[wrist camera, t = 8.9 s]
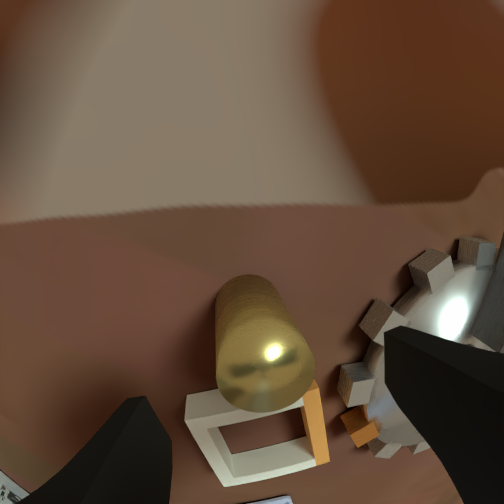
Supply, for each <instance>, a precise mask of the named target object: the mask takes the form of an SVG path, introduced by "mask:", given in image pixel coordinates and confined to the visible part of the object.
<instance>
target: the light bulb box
mask: <svg viewBox="0 0 504 504" xmlns="http://www.w3.org/2000/svg"><path fill="white" fill-rule="evenodd" d="M28 495H29V493H27V492H26V491H25V490H24V489H22V488H21V487H20V486H18V485H17V484H16V483H15V482H13V481H12V480H11V479H10V478H9V477H7V476H6V475H5V474H4V473H3V472H2V471H0V504H15V503H17V502H18V501H20V500H22V499H23V498H25V497H26V496H28Z"/></svg>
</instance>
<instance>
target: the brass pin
mask: <svg viewBox="0 0 504 504" xmlns="http://www.w3.org/2000/svg"><path fill="white" fill-rule="evenodd" d="M215 341H216V381H217V386H218V389H219V391H220V393H221V394H222V396H223V397H224V398H225V399H226V400H227V401H228V402H229V403H230V404H232V405H233V406H235V407H237V408H239V409H241V410H245V411H249V412H255V413H266V412H273V411H277V410H280V409H283V408H286V407H288V406H290V405H292V404H293V403H295V402H296V401H298V400H299V399H300V398H301V397H302V396H303V395H304V394H305V393H306V392H307V391H308V389H309V388H310V386H311V385H312V383H313V380H314V378H315V373H316V363H315V359H314V356H313V354H312V352H311V350H310V348H309V347H308V345H307V343H306V341H305V340H304V338H303V336H302V334H301V332H300V331H299V329H298V327H297V325H296V324H295V322H294V320H293V318H292V316H291V315H290V313H289V311H288V309H287V308H286V306H285V304H284V302H283V300H282V299H281V297H280V295H279V293H278V292H277V290H276V288H275V287H274V286H273V285H272V283H270V282H269V281H268V280H266V279H265V278H263V277H260V276H257V275H241V276H238V277H235V278H233V279H231V280H229V281H228V282H227V283H226V284H224V286H223V287H222V288H221V289H220V291H219V293H218V295H217V297H216V302H215Z"/></svg>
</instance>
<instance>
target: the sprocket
mask: <svg viewBox="0 0 504 504" xmlns="http://www.w3.org/2000/svg"><path fill="white" fill-rule="evenodd" d="M495 248H496V243H494V242H490V241H487V240H483V239H480V238H470V237H460V240H459V248H458V256H457V259H456V260H453V261H452V260H451V256H450V255H448V254H446V253H443V252H440V251H437V250H435V249H432V248H430V249H429V250H427V251H426V252H425V253H423V254H422V255H420V256H419V257H418V258H416V259H415V260H413V261H412V262H411V263H409V264H408V266H409V269H410V272H411V275H412V278H413V281H414V285H413V286H412V287H411V288H410V289H409V290H408V291H407V292H406V293H405V294H404V295H403V296H402V297H401V298H400V300H399V301H398V302H397V303H396V304H395V305H394V307H393V308H392V307H391V306H389V305H388V304H386V303H384V302H383V301H381V300H380V299H378V298H376V300H375V302H374V303H373V305H372V306H371V308H370V309H369V311H368V312H367V314H366V315H365V317H364V318H363V320H362V321H361V323H360V324H359V327H360V328H361V329H362V330H363V331H364V332H365V333H366V334H367V335H368V336H369V337H370V338H371V339H372V341H371V343H370V345H369V347H368V349H367V351H366V354H365V357H364V359H363V361H362V362H358V363H352V364H344V365H341V370H340V375H339V380H338V385H337V391H338V392H339V394H340V396H341V397H342V399H343V401H344V403H345V404H346V406H347V407H352V406H357V405H358V406H357V407H355V408H354V409H352V410H350V411H348V412H347V413H345V414H343V415H341V416H340V417H341V419H342V421H343V423H344V425H345V427H346V429H347V430H348V432H349V434H350V436H351V438H352V439H353V441H354V443H355V444H356V446H357V447H360V446H362V445H364V444H365V443H367V445H368V446H369V448H370V450H371V452H372V453H373V455H374V457H382V458H390V457H391V456H392V455H393V454H394V453H395V452H396V451H397V450H398V449H399V448H400V447H401V446H407V447H408V448H409V450H410V451H411V452H412V454H416V453H418V452H421V451H423V450H426V449H428V448H430V446H429V445H428V443H427V442H426V441H425V440H424V438H423V437H422V436H421V435H420V433H419V432H418V431H417V430H416V428H415V427H414V426H413V425H412V423H411V422H410V421H409V420H408V418H407V417H406V416H405V415H404V413H403V412H402V411H401V409H400V408H399V407H398V405H397V404H396V402H395V400H394V399H393V397H392V395H391V394H390V392H389V390H388V388H387V386H386V385H385V383H384V332H385V331H388V330H390V329H393V328H395V327H398V326H400V325H401V326H406V327H409V328H413V329H416V330H419V331H422V332H425V333H429V334H432V335H435V336H438V337H441V338H444V339H447V340H451V341H454V342H457V343H461V344H464V345H468V346H472V347H476V348H480V349H485V350H489V351H493V352H499V353H504V233H503V237H502V240H501V244H500V248H499V249H498V248H496V249H495Z"/></svg>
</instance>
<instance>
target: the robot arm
mask: <svg viewBox="0 0 504 504" xmlns="http://www.w3.org/2000/svg"><path fill="white" fill-rule="evenodd" d="M384 383H385V385H386V386H387V388H388V390H389V392H390V394H391V395H392V397H393V399H394V400H395V402H396V404H397V405H398V407H399V408H400V409H401V411H402V412H403V413H404V415H405V416H406V417H407V418H408V420H409V421H410V422H411V423H412V425H413V426H414V427H415V428H416V430H417V431H418V432H419V433H420V435H421V436H422V437H423V438H424V440H425V441H426V442H427V443H428V445H429V446H430V447H431V448H432V450H433V451H434V452H435V454H436V455H437V456H438V458H439V459H440V461H441V462H442V464H443V466H444V467H445V469H446V471H447V472H448V474H449V476H450V478H451V479H452V481H453V483H454V485H455V487H456V489H457V491H458V493H459V495H460V497H461V498H462V500H463V503H464V504H504V353H499V352H493V351H489V350H485V349H480V348H476V347H472V346H468V345H464V344H461V343H457V342H454V341H451V340H447V339H444V338H441V337H438V336H435V335H432V334H429V333H425V332H422V331H419V330H416V329H413V328H409V327H406V326H401V325H400V326H398V327H395V328H393V329H390V330H388V331H385V332H384ZM171 478H172V442H171V439H170V437H169V436H168V434H167V432H166V431H165V429H164V428H163V426H162V424H161V423H160V421H159V419H158V417H157V416H156V414H155V412H154V411H153V409H152V407H151V405H150V403H149V402H148V400H147V398H146V396H141V397H134V398H127V399H126V400H125V401H124V402H123V403H122V404H121V405H120V407H119V408H118V409H117V410H116V411H115V412H114V413H113V414H112V416H111V417H110V418H109V419H108V420H107V421H106V422H105V424H104V425H103V426H102V427H101V428H100V429H99V430H98V432H97V433H96V434H95V435H94V436H93V437H92V438H91V440H90V441H89V442H88V443H87V444H86V445H85V446H84V447H83V448H82V449H81V450H80V451H79V452H78V453H77V454H76V455H75V456H74V457H73V458H72V459H71V460H70V462H69V463H68V464H67V465H66V466H64V467H63V468H62V469H61V470H60V471H59V472H58V473H57V474H56V475H55V476H53V477H52V478H51V479H50V480H48V481H47V482H46V483H45V484H44V485H42V486H41V487H40V488H38V489H37V490H35V491H34V492H32V493H31V494H29V495H28V496H26V497H25V498H23V499H22V500H20V501H18V502H17V503H15V504H169V499H170V489H171ZM248 504H293V503H292V500H291V497H290V496H282V497H277V498H273V499H268V500H264V501H259V502H253V503H248Z"/></svg>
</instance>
